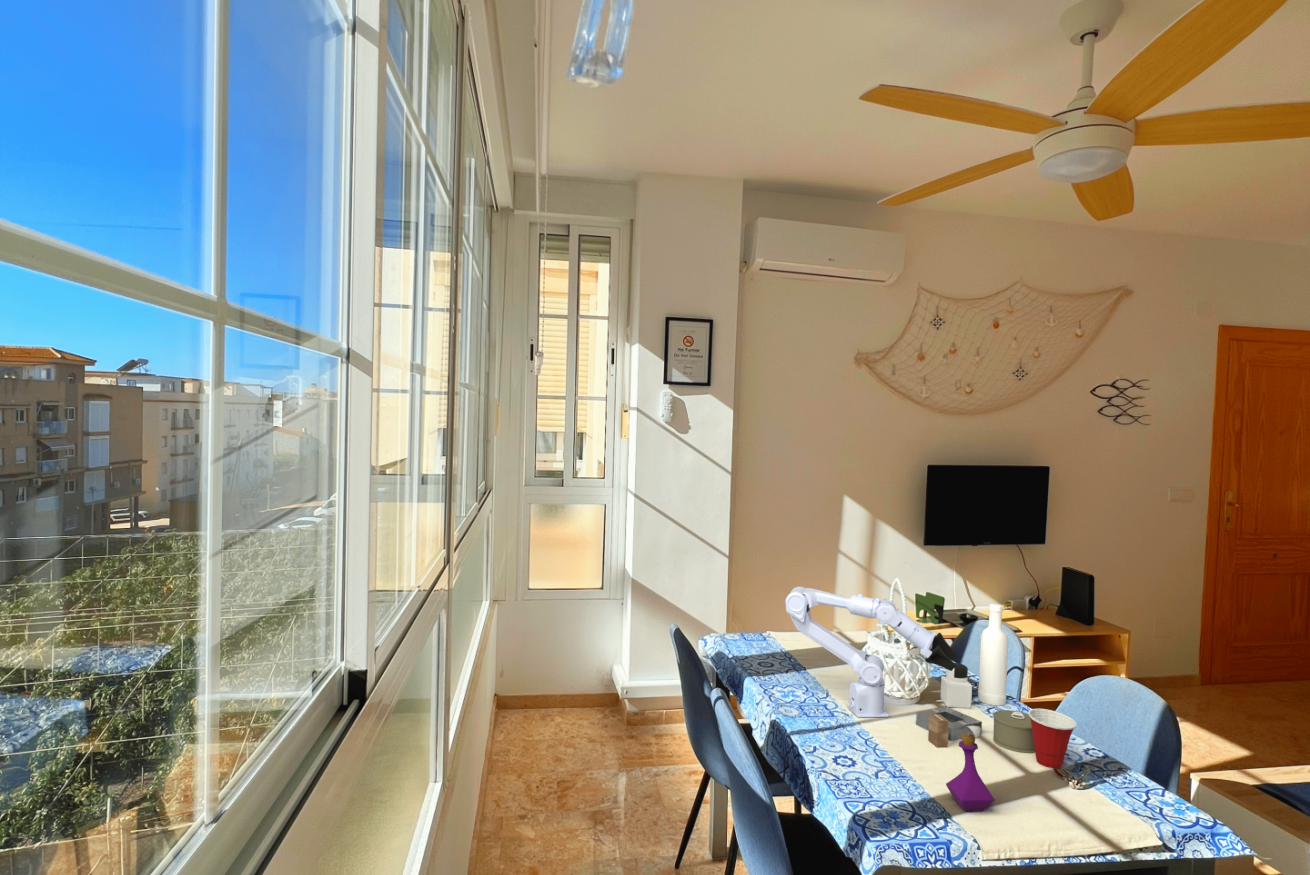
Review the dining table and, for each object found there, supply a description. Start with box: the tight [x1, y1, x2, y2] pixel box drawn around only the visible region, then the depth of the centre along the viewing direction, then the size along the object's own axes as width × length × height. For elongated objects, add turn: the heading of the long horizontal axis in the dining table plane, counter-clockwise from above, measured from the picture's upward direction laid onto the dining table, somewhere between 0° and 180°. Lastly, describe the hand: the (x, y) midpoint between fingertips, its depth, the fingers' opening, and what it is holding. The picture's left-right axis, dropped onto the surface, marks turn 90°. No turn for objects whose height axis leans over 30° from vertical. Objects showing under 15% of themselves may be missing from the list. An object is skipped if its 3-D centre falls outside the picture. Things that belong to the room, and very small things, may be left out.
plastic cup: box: [1027, 708, 1077, 769], centre depth 187 cm, size 11×11×12 cm
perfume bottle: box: [945, 726, 996, 812], centre depth 164 cm, size 8×8×18 cm
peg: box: [927, 714, 949, 749], centre depth 197 cm, size 3×4×7 cm, turn 8°
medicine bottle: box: [940, 662, 973, 709], centre depth 228 cm, size 7×7×12 cm
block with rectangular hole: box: [915, 705, 983, 742], centre depth 207 cm, size 12×12×4 cm
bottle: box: [977, 603, 1009, 707], centre depth 231 cm, size 8×8×30 cm
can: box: [992, 709, 1035, 754], centre depth 199 cm, size 12×12×7 cm
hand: (954, 662), depth 210 cm, fingers open, 7 cm apart
